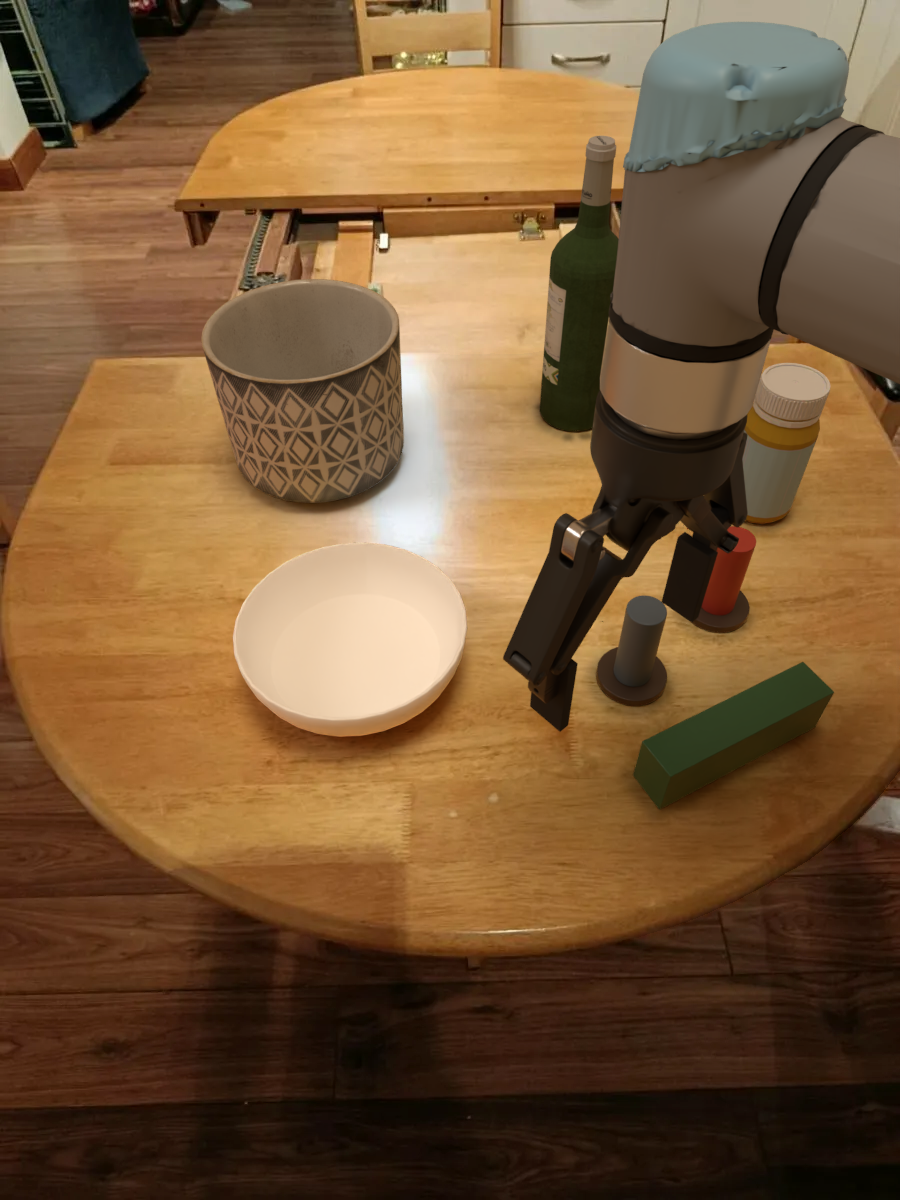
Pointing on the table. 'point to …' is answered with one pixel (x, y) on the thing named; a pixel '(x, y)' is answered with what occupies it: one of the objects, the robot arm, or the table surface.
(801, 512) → the table surface
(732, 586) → the red peg on stand
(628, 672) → the grey cylinder on disc
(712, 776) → the green bar
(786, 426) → the bottle
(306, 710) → the bowl
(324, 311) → the planter
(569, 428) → the wine bottle
